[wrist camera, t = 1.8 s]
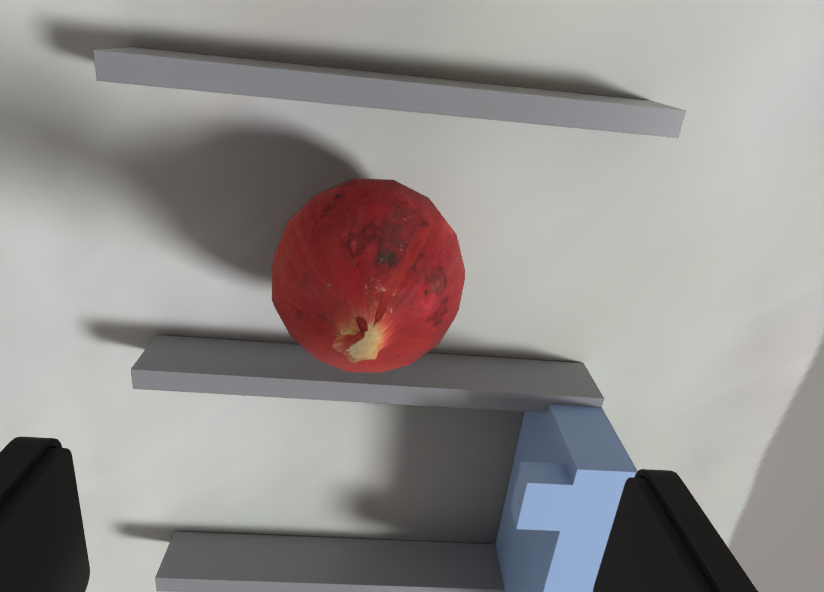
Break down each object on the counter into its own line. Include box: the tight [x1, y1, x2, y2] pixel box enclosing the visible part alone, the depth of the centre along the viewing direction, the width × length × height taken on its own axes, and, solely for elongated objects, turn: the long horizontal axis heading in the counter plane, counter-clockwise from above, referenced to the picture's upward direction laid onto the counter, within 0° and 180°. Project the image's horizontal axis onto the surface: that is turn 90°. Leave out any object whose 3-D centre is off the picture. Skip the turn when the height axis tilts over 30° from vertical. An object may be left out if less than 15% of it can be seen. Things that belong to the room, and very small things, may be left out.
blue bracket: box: [495, 404, 638, 592], centre depth 23 cm, size 10×4×6 cm, turn 174°
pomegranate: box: [272, 179, 465, 373], centre depth 18 cm, size 6×6×8 cm
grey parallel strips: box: [93, 47, 686, 592], centre depth 22 cm, size 21×17×2 cm
